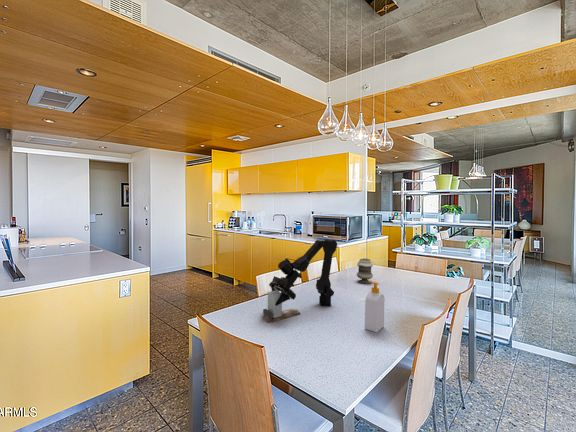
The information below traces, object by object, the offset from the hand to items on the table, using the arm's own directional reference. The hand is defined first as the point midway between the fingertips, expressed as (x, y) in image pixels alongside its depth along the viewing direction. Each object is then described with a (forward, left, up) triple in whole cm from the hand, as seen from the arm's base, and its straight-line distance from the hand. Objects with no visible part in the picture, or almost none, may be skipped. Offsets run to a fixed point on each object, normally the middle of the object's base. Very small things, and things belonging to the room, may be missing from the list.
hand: (272, 303), depth 151 cm
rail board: (-5, -4, -8) cm, 10 cm away
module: (-1, -1, -7) cm, 7 cm away
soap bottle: (-51, +5, -8) cm, 52 cm away
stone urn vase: (-62, -77, -8) cm, 99 cm away
